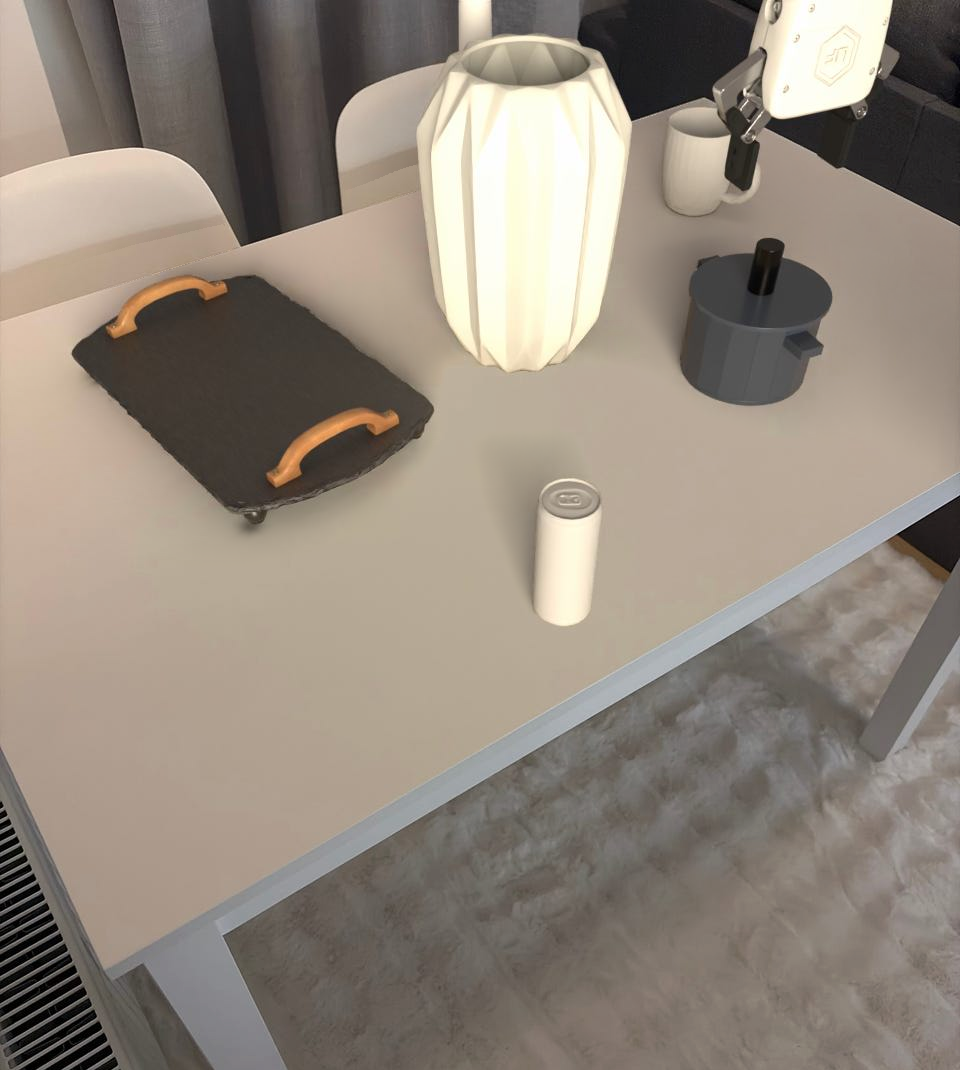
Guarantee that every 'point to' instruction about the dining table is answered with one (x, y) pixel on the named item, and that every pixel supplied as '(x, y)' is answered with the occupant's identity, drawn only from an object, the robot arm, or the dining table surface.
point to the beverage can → (566, 550)
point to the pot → (744, 359)
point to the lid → (760, 290)
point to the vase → (522, 194)
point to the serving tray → (251, 390)
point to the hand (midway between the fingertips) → (783, 172)
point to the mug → (698, 163)
